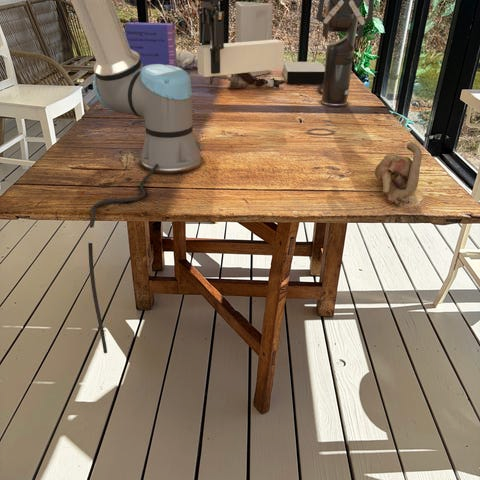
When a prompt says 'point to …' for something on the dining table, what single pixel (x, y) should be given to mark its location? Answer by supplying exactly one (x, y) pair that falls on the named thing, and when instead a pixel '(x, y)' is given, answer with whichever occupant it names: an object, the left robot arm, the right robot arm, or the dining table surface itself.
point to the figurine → (248, 80)
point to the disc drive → (303, 72)
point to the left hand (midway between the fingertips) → (211, 71)
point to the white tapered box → (253, 24)
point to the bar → (243, 57)
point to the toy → (187, 58)
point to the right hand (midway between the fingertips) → (341, 39)
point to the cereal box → (152, 42)
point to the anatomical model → (399, 174)
